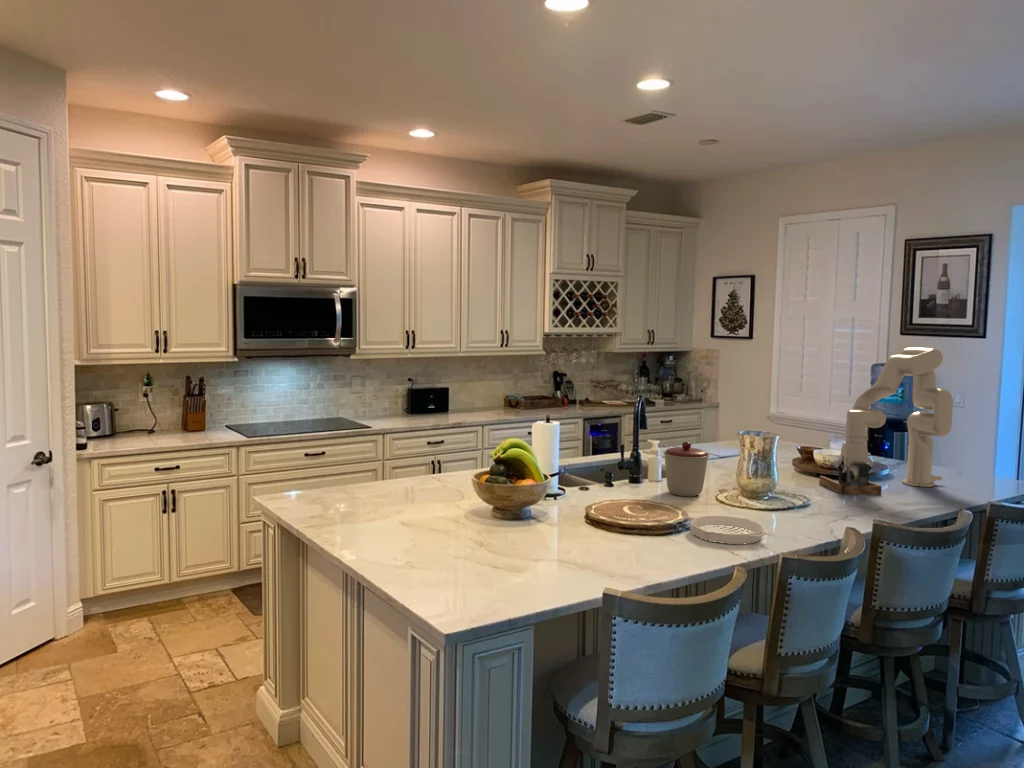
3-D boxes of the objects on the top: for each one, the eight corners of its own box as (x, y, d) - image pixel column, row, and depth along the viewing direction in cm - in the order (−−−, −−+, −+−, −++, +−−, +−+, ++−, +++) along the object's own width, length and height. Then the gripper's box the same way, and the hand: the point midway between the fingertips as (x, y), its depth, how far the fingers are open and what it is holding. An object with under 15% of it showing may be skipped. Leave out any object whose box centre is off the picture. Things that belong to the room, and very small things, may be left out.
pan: (741, 552, 234) (742, 540, 234) (635, 523, 264) (635, 513, 264) (782, 537, 251) (783, 527, 250) (678, 512, 281) (678, 502, 281)
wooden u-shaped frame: (856, 483, 335) (856, 475, 335) (880, 494, 315) (881, 486, 315) (819, 483, 334) (819, 475, 334) (841, 494, 314) (842, 485, 314)
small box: (836, 485, 326) (838, 460, 325) (848, 484, 328) (849, 459, 327) (857, 490, 316) (858, 465, 315) (868, 489, 319) (870, 464, 318)
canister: (684, 501, 298) (686, 447, 296) (652, 491, 313) (654, 440, 311) (717, 496, 307) (719, 443, 306) (684, 487, 323) (686, 437, 321)
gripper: (871, 438, 325) (868, 479, 326) (830, 438, 323) (828, 479, 325) (880, 441, 317) (878, 483, 319) (839, 441, 316) (837, 483, 318)
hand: (853, 481), depth 322 cm, fingers closed on small box, 7 cm apart
